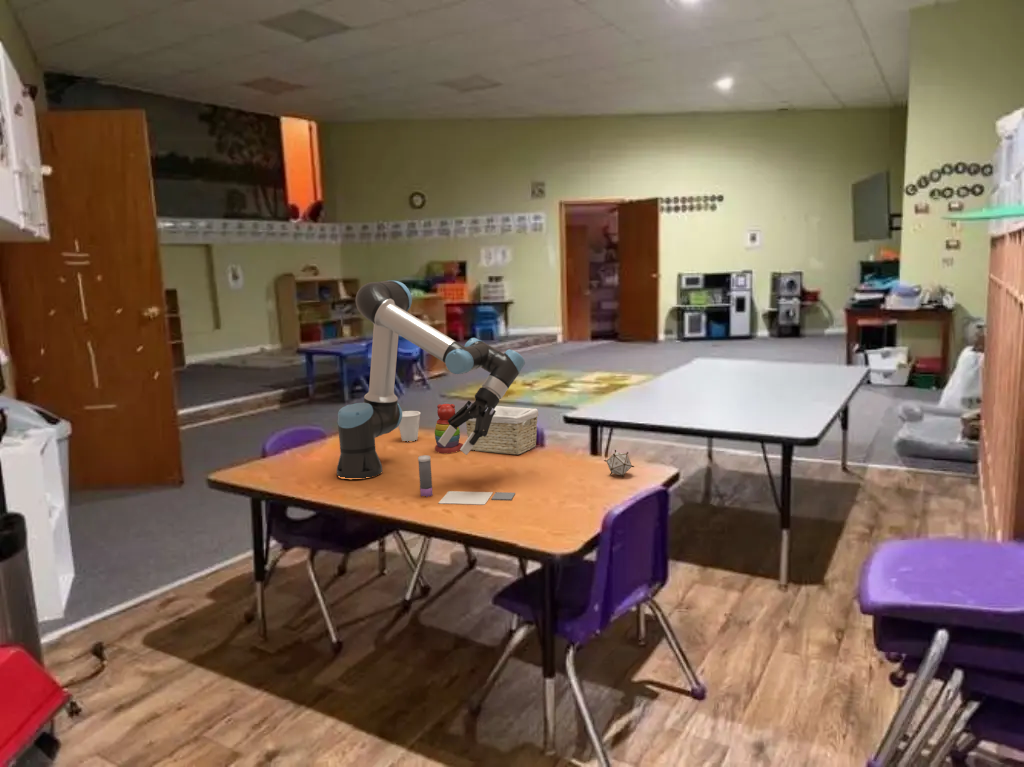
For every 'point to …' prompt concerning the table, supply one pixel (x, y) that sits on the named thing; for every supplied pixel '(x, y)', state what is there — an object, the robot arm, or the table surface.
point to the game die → (619, 463)
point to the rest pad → (503, 496)
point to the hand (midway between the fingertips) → (452, 448)
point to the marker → (425, 475)
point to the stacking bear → (441, 426)
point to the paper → (466, 498)
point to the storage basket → (508, 431)
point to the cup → (409, 425)
